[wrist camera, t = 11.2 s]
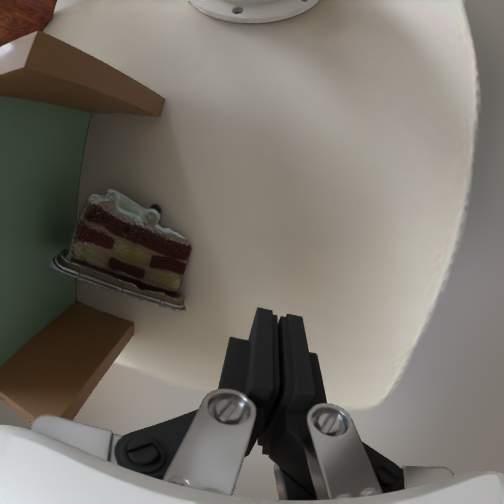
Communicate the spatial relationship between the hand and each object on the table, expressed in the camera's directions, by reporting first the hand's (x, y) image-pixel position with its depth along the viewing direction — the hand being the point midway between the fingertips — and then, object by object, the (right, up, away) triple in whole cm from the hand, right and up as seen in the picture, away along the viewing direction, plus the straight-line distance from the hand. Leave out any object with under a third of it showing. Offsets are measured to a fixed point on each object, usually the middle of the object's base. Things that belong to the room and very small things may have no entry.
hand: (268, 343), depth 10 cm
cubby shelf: (-14, +6, +12) cm, 19 cm away
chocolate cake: (-10, +5, +12) cm, 16 cm away
